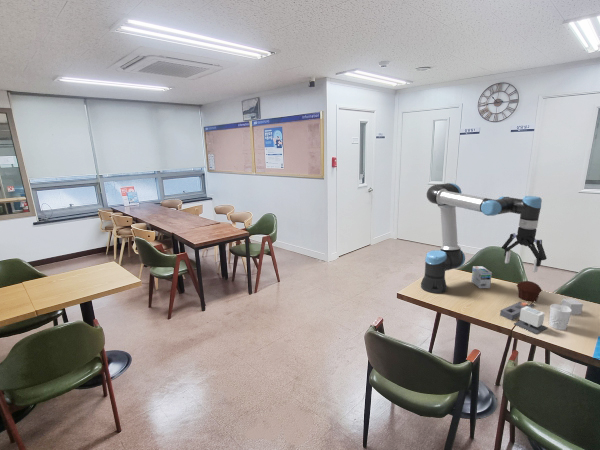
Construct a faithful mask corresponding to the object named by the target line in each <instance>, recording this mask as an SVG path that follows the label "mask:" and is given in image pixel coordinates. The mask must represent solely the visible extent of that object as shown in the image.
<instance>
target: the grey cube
mask: <svg viewBox="0 0 600 450" xmlns="http://www.w3.org/2000/svg"><path fill="white" fill-rule="evenodd" d="M560 302H561V303H560V305H564V306H566V307H569V308H570V309H571V310H572V311H571V315H573V316H574V315H582V310H583V307H584V304H583V303H581V302H580V301H578V300H576V299H574V298H562V299H561V301H560ZM571 315H570V316H571Z"/></svg>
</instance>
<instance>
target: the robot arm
mask: <svg viewBox="0 0 600 450" xmlns="http://www.w3.org/2000/svg"><path fill="white" fill-rule="evenodd" d="M461 189H462V188H461V187H460V186H459V185H458V184H456V183H454V182H452V183H451V182H450V183H449V182H447V183H439V184H433V185H431V186H429V188H428V189H427V191H426V198H427V200H428V201H429V202H430V203H431V204H434V205H435V204H436V205H437V207H438V208H439V209H440V223H441V224H440V225H441V238H442V246H441V247H440V248H439V249H438V250H430V251H428V252H427V253H426V255H425V260H424V261H425V263H424V264H425V265H424V276H423V278H422V280H421V283H420V288H421V289H422V290H423V291H425V292H428V293H432V294H443V293H446V292H447V289H448V285H447V282H446V271H450V270H456V269H458V268H460V267H463V265H464V264H465V262H466V254H465V252H463V250H461V246H460V245H459V244H458V243H459V242H458V229H457V212H456V210H457V209H456V208H462V209H465V210H471V211H475V212H479V213H482V214H483V215H484V216H497V215H502V214H509V213H512V214H517V215H519V221H518V227H517V232H516V233H517V234H516V233H514V232H513V233H511V234H510V235H509V237H508V238H507V240H506V241H505V242H504V244H503V245H502V246H501V250H504V255H503V256H504V257H505V259H504V264H509V263H510V260H511V256H512V255H511V254H512V249H513V248H515V247H517V245H520V246H525V247H528V248H529V249H530V251H531V252H532V254H533V256H534V257H535V259H534V263H533V267H532V273H537V272H538V270H539V269H538V268H539V267H541V266H542V261H546V260H547V255H546V253H545V249H544V247H543V240H542V239H536V234H537V229H538V226H539V225H538V224H539V218H540V213H541V210H542V203H543V201H542V200H543V199H542V198H541V197H540V196H537V195H525V196H523V198H522V199H521V198H515V197H509V196H499V197H498V198H497V199H492V198H487V197H481V196H477V195H472V194H464V193H462V190H461ZM515 238H516V241H514V242H513V243H512V241H513V240H514V239H515ZM511 243H512V244H511ZM535 244H536V245H535Z"/></svg>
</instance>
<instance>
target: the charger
mask: <svg viewBox="0 0 600 450" xmlns="http://www.w3.org/2000/svg"><path fill="white" fill-rule="evenodd" d="M545 316H546V315H545V312H544V311H541V310H537V309H535V308H533V307H532V308H530V307H528V306H526V307H524V308H521V312H520V317H519V320H518V321H520V320H521V321H524V322H526V323H528V326H529V327H530V325H533V326H535V327H539V326H541V325H543V326H544V321H545Z"/></svg>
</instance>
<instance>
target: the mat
mask: <svg viewBox="0 0 600 450" xmlns="http://www.w3.org/2000/svg"><path fill="white" fill-rule="evenodd" d="M513 325H514V326H516V327H518V326H519V328H521V329H523V328H524V329H523V330H525V329H526V330H525V331H527V330H528V331H527V332H530V333H532V334H535V335H537V334H540V333H542V332H543V331H545V330H547V329H548V327H547V326H546V325H544V324H543V325H541V326H539V327H535V326H533V325H530V327H529V326H528V323H526V322H524V321H521V320H518V321H516V322H514V323H513Z"/></svg>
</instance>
